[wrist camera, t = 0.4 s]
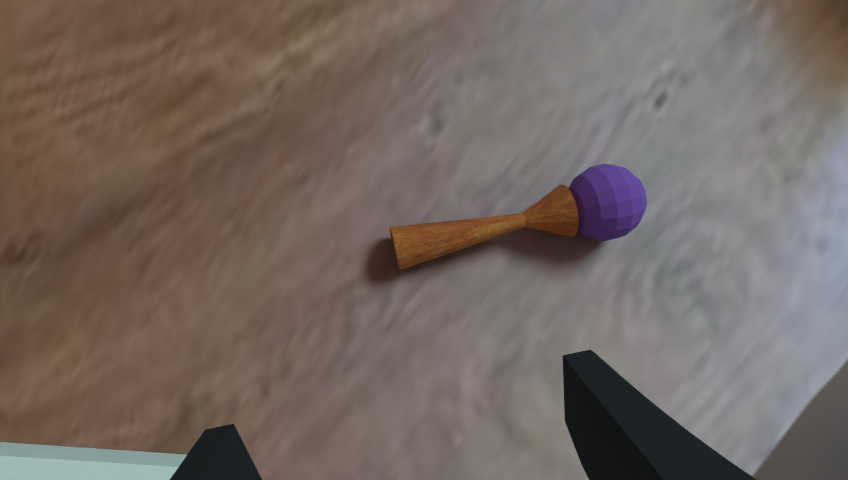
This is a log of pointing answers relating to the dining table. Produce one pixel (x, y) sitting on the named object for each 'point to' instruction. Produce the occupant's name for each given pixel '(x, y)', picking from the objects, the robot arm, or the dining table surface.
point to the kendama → (537, 217)
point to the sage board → (83, 463)
